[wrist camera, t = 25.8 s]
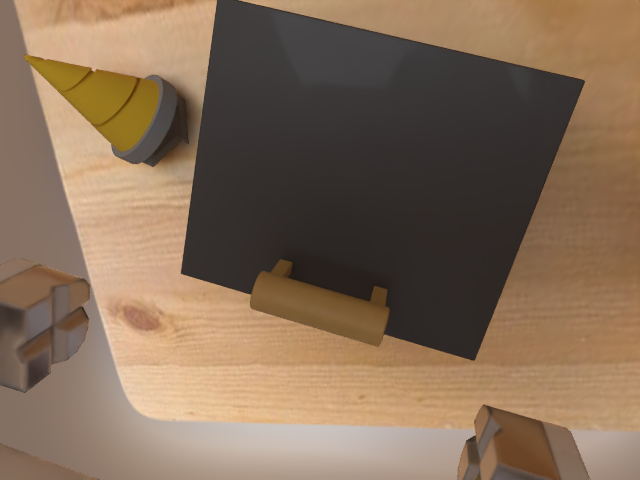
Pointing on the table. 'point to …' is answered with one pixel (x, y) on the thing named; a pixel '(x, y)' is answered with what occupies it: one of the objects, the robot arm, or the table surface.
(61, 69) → the drill bit
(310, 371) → the table surface
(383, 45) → the lid
